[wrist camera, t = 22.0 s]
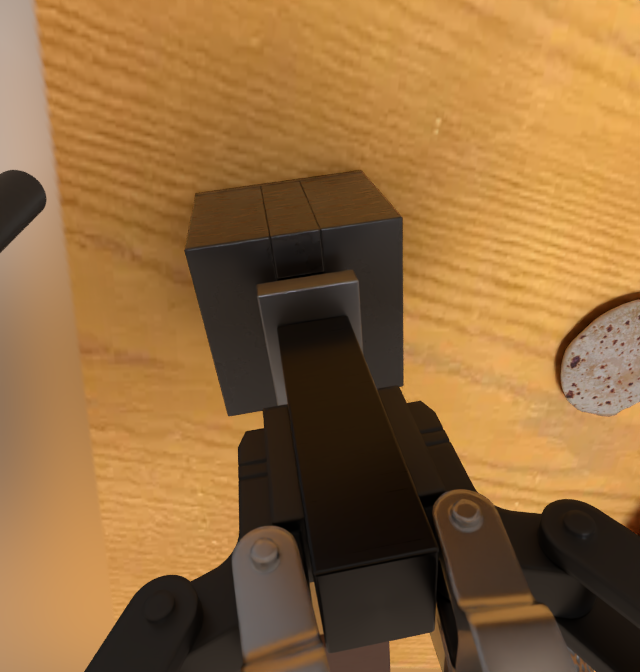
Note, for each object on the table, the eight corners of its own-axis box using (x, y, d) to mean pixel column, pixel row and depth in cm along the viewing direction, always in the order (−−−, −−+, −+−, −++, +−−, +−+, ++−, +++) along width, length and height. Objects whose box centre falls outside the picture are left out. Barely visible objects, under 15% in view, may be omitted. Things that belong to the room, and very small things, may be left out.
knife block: (228, 335, 24) (228, 417, 19) (195, 193, 20) (183, 249, 15) (368, 312, 25) (403, 386, 20) (361, 170, 21) (403, 216, 16)
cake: (299, 642, 39) (307, 718, 34) (283, 576, 34) (290, 655, 30) (374, 626, 39) (391, 699, 35) (369, 559, 34) (389, 634, 30)
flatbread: (556, 317, 27) (567, 326, 26) (693, 276, 26) (708, 284, 26) (554, 424, 31) (563, 435, 30) (671, 389, 31) (683, 399, 30)
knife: (269, 328, 22) (313, 685, 10) (249, 221, 20) (279, 540, 8) (335, 317, 22) (452, 655, 11) (325, 210, 20) (468, 503, 8)
